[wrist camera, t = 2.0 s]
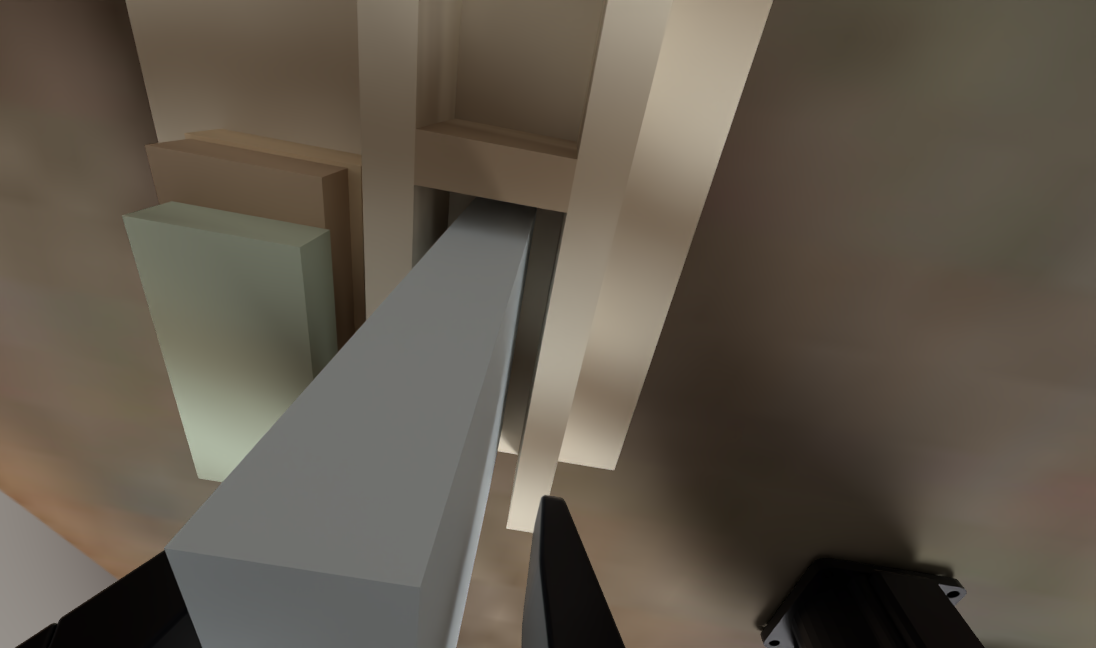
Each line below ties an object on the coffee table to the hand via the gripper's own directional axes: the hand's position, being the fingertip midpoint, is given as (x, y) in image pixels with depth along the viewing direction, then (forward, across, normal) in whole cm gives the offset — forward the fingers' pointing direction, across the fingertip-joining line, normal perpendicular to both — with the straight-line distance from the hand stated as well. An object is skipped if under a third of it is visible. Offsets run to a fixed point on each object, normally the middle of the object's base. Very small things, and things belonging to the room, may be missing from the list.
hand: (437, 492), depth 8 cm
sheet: (+6, 0, 0) cm, 6 cm away
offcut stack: (+6, +5, 0) cm, 8 cm away
